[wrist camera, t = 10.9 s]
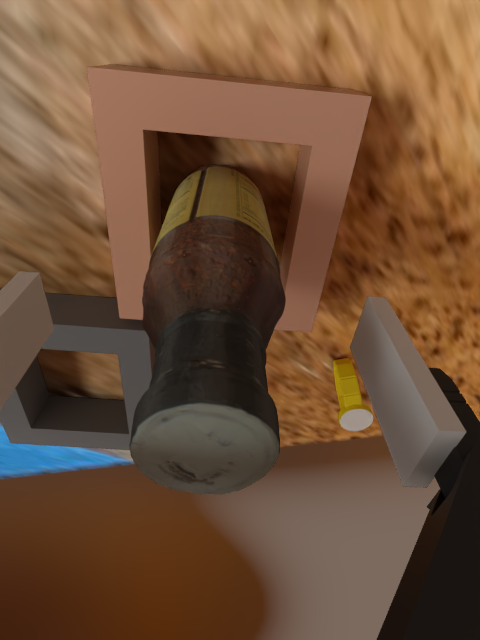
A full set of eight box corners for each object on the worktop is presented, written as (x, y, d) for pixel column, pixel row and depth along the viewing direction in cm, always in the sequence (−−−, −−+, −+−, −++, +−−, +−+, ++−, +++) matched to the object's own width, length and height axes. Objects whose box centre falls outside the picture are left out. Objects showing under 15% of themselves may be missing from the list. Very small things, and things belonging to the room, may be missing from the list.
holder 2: (132, 289, 30) (119, 318, 27) (110, 64, 21) (86, 66, 18) (304, 302, 30) (311, 332, 27) (352, 89, 22) (372, 96, 18)
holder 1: (30, 410, 39) (10, 443, 35) (-16, 288, 30) (-48, 317, 27) (164, 418, 39) (157, 451, 36) (158, 301, 31) (148, 331, 27)
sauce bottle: (189, 254, 28) (118, 529, 12) (162, 170, 24) (8, 401, 8) (275, 237, 27) (321, 509, 11) (260, 147, 24) (296, 358, 8)
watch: (323, 349, 34) (335, 395, 29) (353, 344, 34) (372, 390, 29) (329, 396, 37) (342, 445, 32) (357, 392, 37) (374, 441, 32)
